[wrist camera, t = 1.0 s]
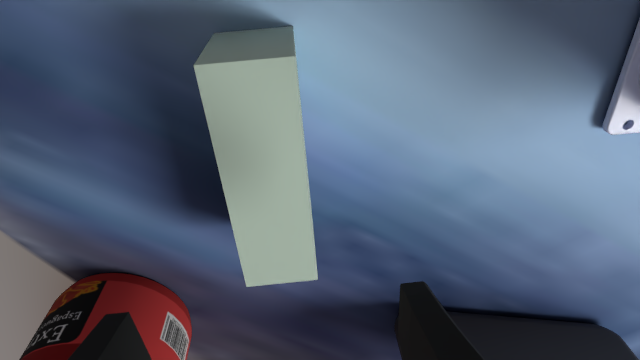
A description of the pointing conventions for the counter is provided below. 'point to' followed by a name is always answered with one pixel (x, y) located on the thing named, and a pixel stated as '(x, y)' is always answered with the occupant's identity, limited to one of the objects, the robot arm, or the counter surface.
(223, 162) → the pale green rectangular box
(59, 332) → the canned food
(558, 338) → the leaning round-cornered charcoal block
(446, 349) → the robot arm
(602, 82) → the counter surface
